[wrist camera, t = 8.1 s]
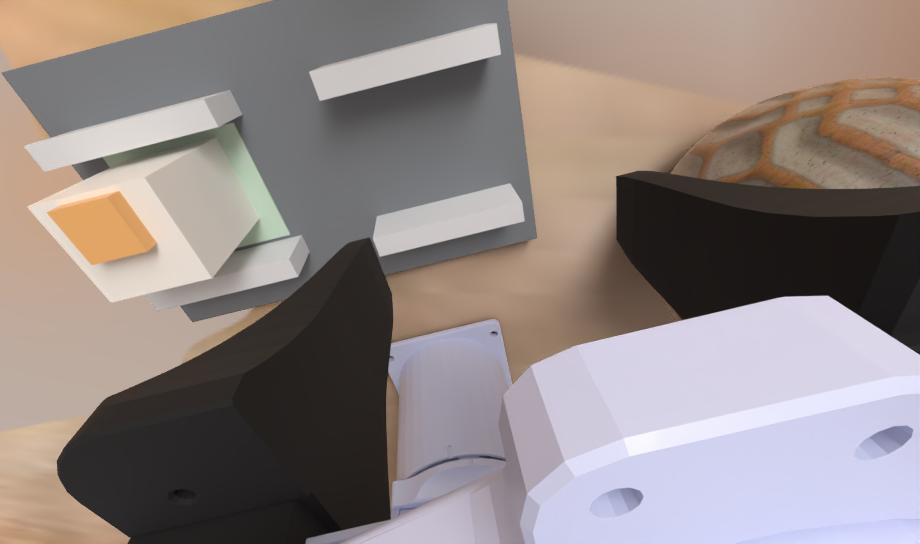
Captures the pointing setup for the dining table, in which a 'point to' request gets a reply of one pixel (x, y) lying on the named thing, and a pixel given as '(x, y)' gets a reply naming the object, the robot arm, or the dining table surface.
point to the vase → (817, 140)
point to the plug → (152, 220)
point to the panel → (312, 131)
